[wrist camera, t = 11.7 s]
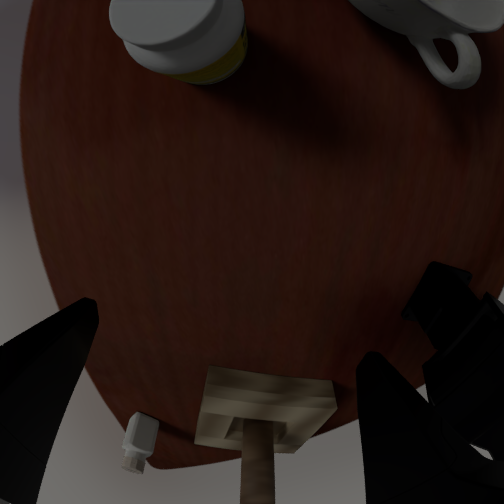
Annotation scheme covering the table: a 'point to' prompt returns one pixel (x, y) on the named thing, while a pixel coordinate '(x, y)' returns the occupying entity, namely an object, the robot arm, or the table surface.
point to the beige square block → (262, 407)
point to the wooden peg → (257, 462)
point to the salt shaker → (139, 442)
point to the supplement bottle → (183, 36)
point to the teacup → (440, 30)
